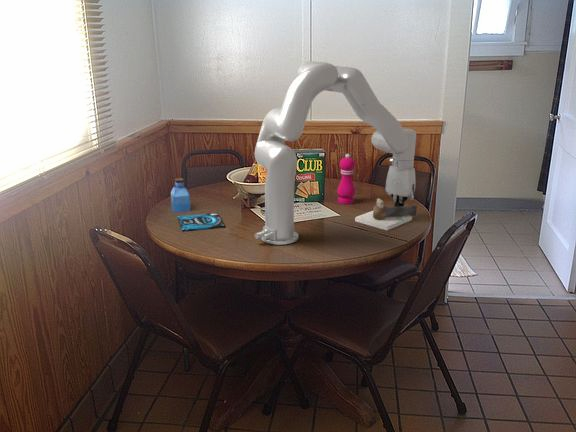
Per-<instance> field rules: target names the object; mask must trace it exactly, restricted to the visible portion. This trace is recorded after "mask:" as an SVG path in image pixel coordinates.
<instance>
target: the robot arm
mask: <svg viewBox="0 0 576 432" xmlns="http://www.w3.org/2000/svg"><path fill="white" fill-rule="evenodd" d="M296 72H297V73H296V78H294V80H293V81H292V82H291V84H290V85H289V87H288V88H287V91H286V94H285V96H284V98H283V102H282V104H281V107H275V108H272V109H271V110H270V111H268V112H267V113H266V115H265V116H264V119H263V122H262V123H261V126H260V130H259V134H258V137H257V141H256V143H255V148H254V158H255V159H254V160H255V161H256V162H257V164H258V166H261V167H262V168H264V169H266V170H267V173H266V178H265V183H264V216H265V217H264V218H265V219H264V226H262V230H261V231H258V232H256V233H254V238H255V239H256V240H258V239H260V240H261V241H263V242H264V243H266V244H271V245H277V246H278V245H280V246H281V245H289V244H293V243H295V242H297V241H298V240H299V234H298V232H296V231H295V179H296V174H297V173H296V172H297V168H298V158H297V157H298V156H297V155H296V152H295V151H294V150H293V149H292V148H291V147H289V146H288V145H286V144H285V141H286V142H295V141H297V140H299V139H300V138H301V136H302V134H303V131H304V127H305V125H306V121H307V118H308V115H309V112H310V109H311V106H312V103H313V101H314V100H315V99H316V97H317V96H318V95H320V93H323V92H324V91H326V92H335V93H341V94H343V96H344V97H345V99H346V100H347V102H348V104H349V105H350V106H351V108H352V110H353V112H354V113H355V115H356V116H357V117H358V119H360V120H361V121H362V122H364V123H366V124H367V125H369V126H370V127H372V128H374V129H375V131H374V132H373V133H372V135H371V138H370V139H371V144H372V145H373V147H374V148H375V149H377V150H379V151H382V152H383V151H384V152H386V153H389V154H392V157H390V159H389V162H390V163H391V165H390V166H389V169H388V171H387V174H386V175H387V176H386V179H385V180H386V181H385V188H384V189H385V192H386V194H387V195H388V196H390V197H391V198H392V199H393V203H394V206H393V207H397V206H405V202H407V201H411V200H414V198H415V195H414V194H415V192H416V170H415V168H414V163H415V161H414V160H415V153H416V142H417V131H415V129H411V128H403V126H402V124H401V123H400V121H398V119H397V118H396V117H395V115H393V114H392V112H390V111H389V110H388V109H387V108H386V107H385V105H383V104H382V103H381V102H380V100H379V99H378V98H377V96H376V94H375V93H374V91H373V89H372V88H371V86H370V83H369V82H368V81H367V79H366V77H365V76H364V74H363V73H362V71H361V70H359V69H358V68H356V67H349V66H339V65H334V64H332V63H329V62H323V61H313V60H312V61H311V60H310V61H306V62H303V63H302V64H301V65H300V66H299V67H298V69H297V71H296Z"/></svg>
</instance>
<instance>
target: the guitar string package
mask: <svg viewBox="0 0 576 432" xmlns="http://www.w3.org/2000/svg"><path fill="white" fill-rule="evenodd" d="M177 220H178V222H179V226H180V229H181V232H192V231H203V230H204V231H205V230H213V229H226V228H227V227H226V224H225V223H224V221H223V219H222V218H221V216H220V213H219V212H209V213H201V214H199V213H198V214H187V215H178V216H177Z"/></svg>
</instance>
